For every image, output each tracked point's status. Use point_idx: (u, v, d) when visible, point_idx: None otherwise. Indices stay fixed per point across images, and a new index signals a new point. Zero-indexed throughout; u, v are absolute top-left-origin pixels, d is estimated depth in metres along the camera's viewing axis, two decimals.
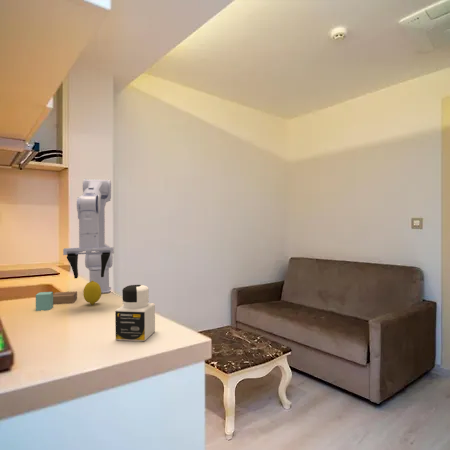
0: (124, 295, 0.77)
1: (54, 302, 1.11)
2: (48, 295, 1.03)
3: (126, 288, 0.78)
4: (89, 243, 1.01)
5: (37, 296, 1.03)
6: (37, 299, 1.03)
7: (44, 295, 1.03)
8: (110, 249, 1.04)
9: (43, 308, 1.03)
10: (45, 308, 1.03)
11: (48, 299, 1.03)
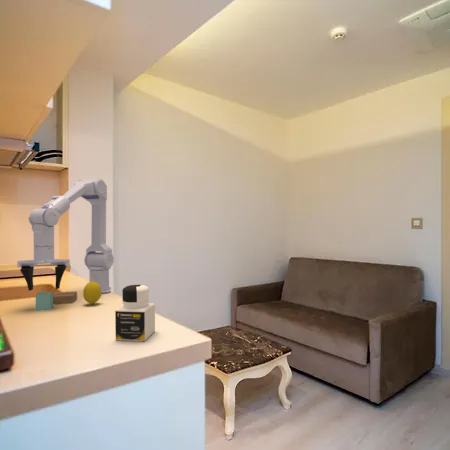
0: (124, 295, 0.77)
1: (54, 302, 1.11)
2: (48, 295, 1.03)
3: (126, 288, 0.78)
4: (43, 256, 1.02)
5: (37, 296, 1.03)
6: (37, 299, 1.03)
7: (44, 295, 1.03)
8: (65, 261, 1.06)
9: (43, 308, 1.03)
10: (45, 308, 1.03)
11: (48, 299, 1.03)
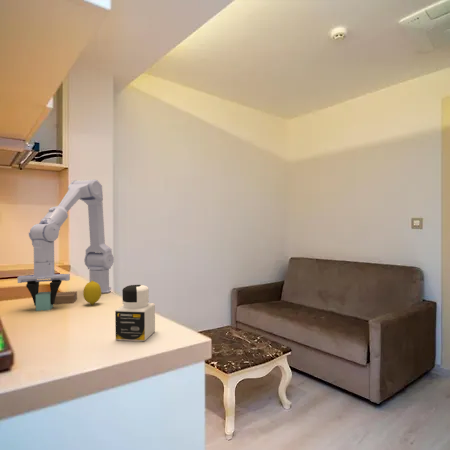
0: (124, 295, 0.77)
1: None
2: (48, 295, 1.03)
3: (126, 288, 0.78)
4: (43, 272, 1.02)
5: (37, 296, 1.03)
6: (37, 299, 1.03)
7: (44, 295, 1.03)
8: (65, 276, 1.06)
9: (43, 308, 1.03)
10: (45, 308, 1.03)
11: (48, 299, 1.03)
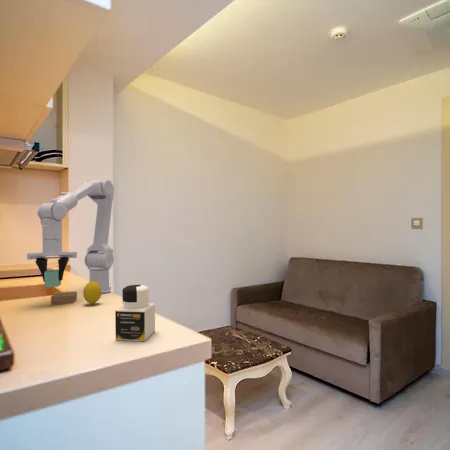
0: (124, 295, 0.77)
1: (54, 302, 1.11)
2: (56, 272, 1.07)
3: (126, 288, 0.78)
4: (51, 249, 1.06)
5: (46, 273, 1.06)
6: (46, 276, 1.06)
7: (52, 272, 1.07)
8: (73, 254, 1.09)
9: (51, 284, 1.07)
10: (53, 284, 1.07)
11: (56, 276, 1.07)
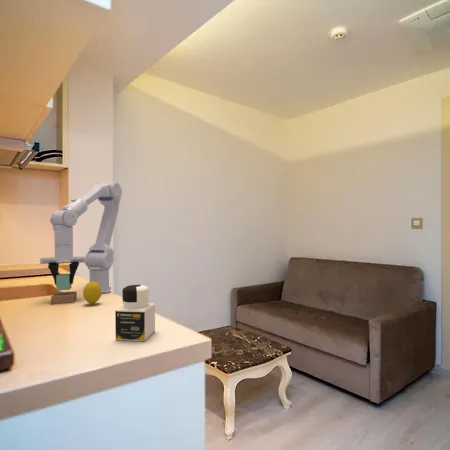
0: (124, 295, 0.77)
1: (54, 302, 1.11)
2: (67, 276, 1.13)
3: (126, 288, 0.78)
4: (63, 254, 1.12)
5: (57, 277, 1.12)
6: (58, 279, 1.12)
7: (64, 276, 1.13)
8: (83, 258, 1.15)
9: (63, 288, 1.13)
10: (65, 288, 1.13)
11: (67, 279, 1.13)
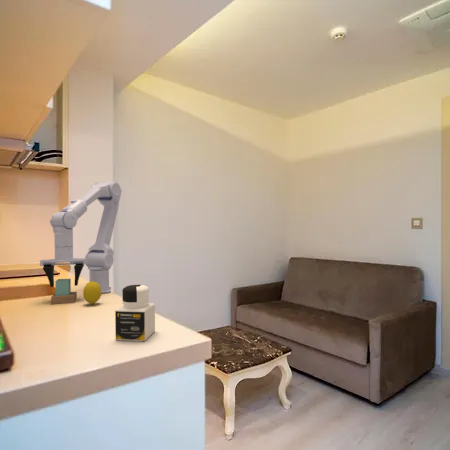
0: (124, 295, 0.77)
1: (55, 302, 1.11)
2: (67, 281, 1.13)
3: (126, 288, 0.78)
4: (63, 255, 1.12)
5: (57, 282, 1.12)
6: (57, 285, 1.12)
7: (63, 281, 1.13)
8: (83, 260, 1.15)
9: (62, 293, 1.13)
10: (64, 293, 1.13)
11: (67, 285, 1.13)
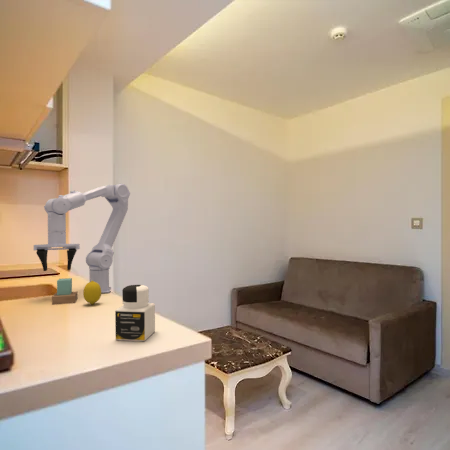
0: (124, 295, 0.77)
1: (55, 302, 1.11)
2: (68, 281, 1.14)
3: (126, 288, 0.78)
4: (56, 240, 1.15)
5: (58, 282, 1.13)
6: (58, 284, 1.13)
7: (64, 281, 1.13)
8: (76, 245, 1.18)
9: (64, 293, 1.13)
10: (65, 293, 1.13)
11: (68, 284, 1.14)
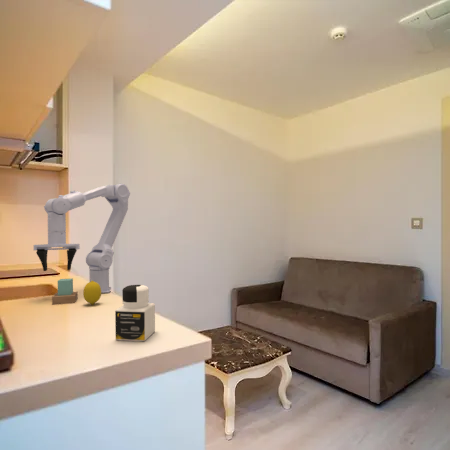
0: (124, 295, 0.77)
1: (55, 302, 1.11)
2: (69, 281, 1.13)
3: (126, 288, 0.78)
4: (56, 240, 1.15)
5: (59, 282, 1.13)
6: (59, 284, 1.13)
7: (65, 281, 1.13)
8: (75, 245, 1.18)
9: (64, 293, 1.13)
10: (66, 293, 1.13)
11: (69, 285, 1.13)
